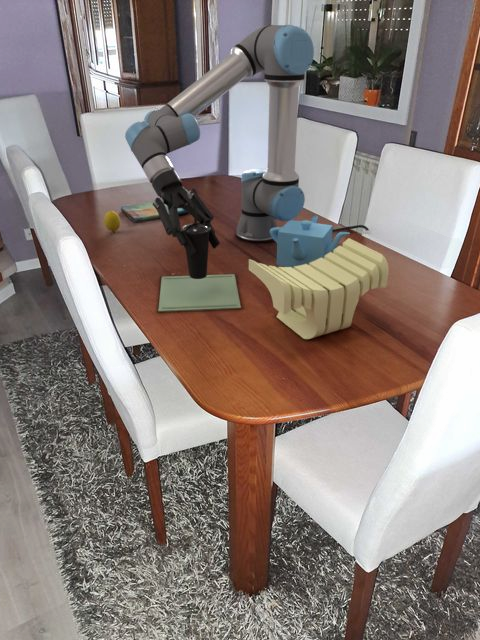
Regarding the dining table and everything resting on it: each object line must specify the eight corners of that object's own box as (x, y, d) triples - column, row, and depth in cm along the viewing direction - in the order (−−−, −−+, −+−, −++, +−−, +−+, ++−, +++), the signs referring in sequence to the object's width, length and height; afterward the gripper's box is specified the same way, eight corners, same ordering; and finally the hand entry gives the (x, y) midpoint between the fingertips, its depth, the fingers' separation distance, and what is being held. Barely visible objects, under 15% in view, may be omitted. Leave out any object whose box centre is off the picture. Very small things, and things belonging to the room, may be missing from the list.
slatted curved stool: (281, 353, 122) (285, 284, 112) (248, 324, 134) (248, 258, 124) (380, 323, 134) (390, 258, 125) (341, 299, 146) (348, 238, 137)
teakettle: (264, 261, 169) (265, 216, 161) (315, 252, 175) (318, 209, 168) (292, 284, 154) (294, 236, 147) (346, 273, 161) (351, 227, 153)
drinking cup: (179, 278, 145) (174, 206, 134) (192, 268, 151) (188, 199, 140) (204, 283, 142) (201, 210, 132) (216, 272, 148) (214, 202, 138)
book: (190, 213, 210) (190, 207, 209) (135, 223, 200) (134, 216, 198) (173, 202, 222) (173, 196, 221) (120, 211, 212) (119, 205, 211)
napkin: (234, 275, 159) (234, 273, 159) (240, 308, 141) (240, 307, 141) (161, 277, 158) (161, 276, 157) (158, 312, 139) (158, 310, 139)
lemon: (117, 235, 189) (115, 213, 184) (103, 234, 189) (100, 212, 185) (123, 230, 193) (121, 208, 189) (109, 229, 194) (106, 207, 190)
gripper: (186, 178, 150) (226, 246, 149) (126, 192, 138) (169, 267, 137) (198, 162, 144) (239, 233, 143) (136, 175, 132) (181, 253, 131)
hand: (205, 249), depth 140 cm, fingers closed on drinking cup, 8 cm apart
